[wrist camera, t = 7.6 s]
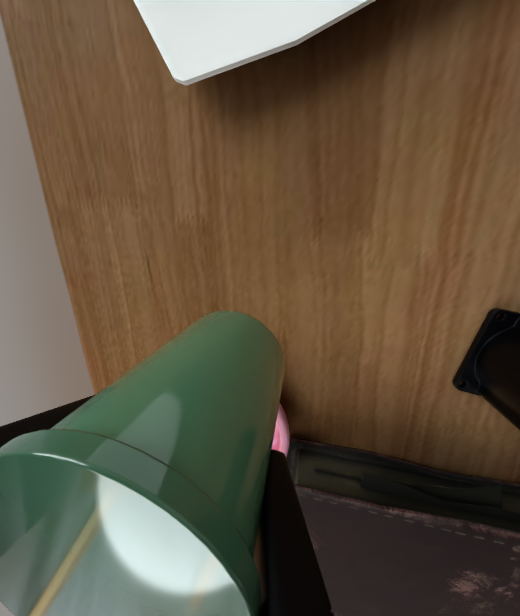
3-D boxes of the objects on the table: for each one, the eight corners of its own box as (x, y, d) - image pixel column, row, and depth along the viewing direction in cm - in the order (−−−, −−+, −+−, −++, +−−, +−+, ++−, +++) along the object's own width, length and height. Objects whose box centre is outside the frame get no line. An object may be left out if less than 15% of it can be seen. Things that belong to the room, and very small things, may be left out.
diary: (524, 629, 24) (577, 726, 19) (274, 558, 28) (267, 623, 23) (615, 491, 19) (721, 577, 14) (290, 427, 23) (286, 477, 18)
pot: (273, 426, 12) (219, 732, 5) (170, 392, 13) (-26, 612, 5) (305, 325, 10) (303, 550, 3) (184, 290, 11) (-80, 402, 4)
